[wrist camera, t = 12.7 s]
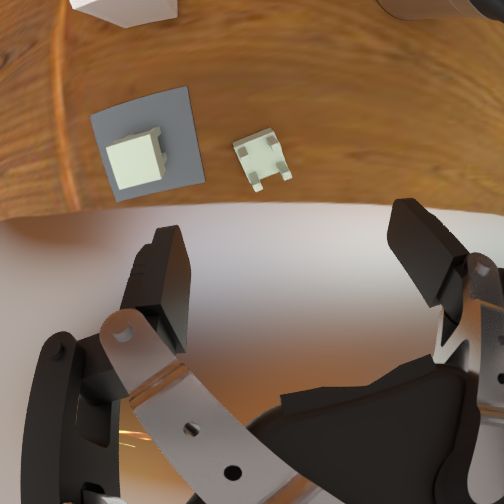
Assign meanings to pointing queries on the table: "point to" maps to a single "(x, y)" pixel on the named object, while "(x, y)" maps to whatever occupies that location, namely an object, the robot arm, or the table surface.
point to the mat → (170, 140)
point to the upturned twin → (261, 157)
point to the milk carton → (128, 10)
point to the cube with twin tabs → (137, 159)
